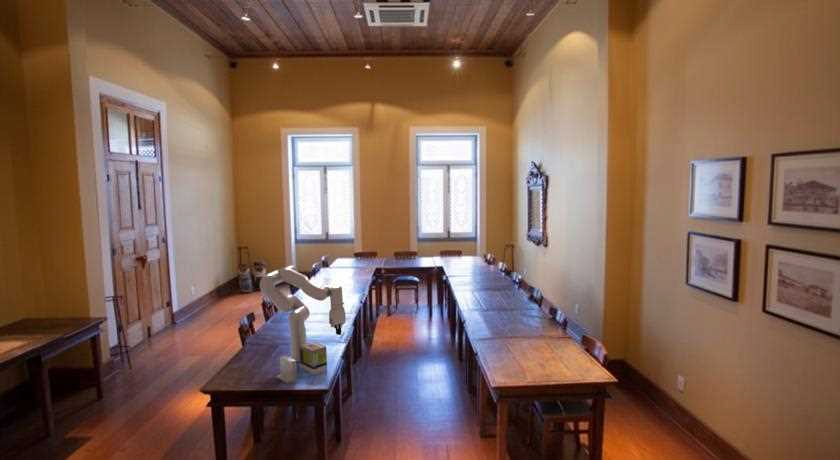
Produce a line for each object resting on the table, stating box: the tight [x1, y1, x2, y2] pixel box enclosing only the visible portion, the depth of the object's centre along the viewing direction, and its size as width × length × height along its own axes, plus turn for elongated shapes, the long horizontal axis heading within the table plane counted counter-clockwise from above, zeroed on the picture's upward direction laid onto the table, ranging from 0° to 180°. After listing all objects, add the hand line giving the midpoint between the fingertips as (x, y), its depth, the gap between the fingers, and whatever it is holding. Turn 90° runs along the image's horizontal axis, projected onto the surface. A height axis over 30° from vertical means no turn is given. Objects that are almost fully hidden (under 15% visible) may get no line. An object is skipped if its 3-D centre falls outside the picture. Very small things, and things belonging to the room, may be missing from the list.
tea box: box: [299, 340, 328, 375], centre depth 275 cm, size 15×10×15 cm, turn 44°
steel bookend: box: [275, 354, 298, 385], centre depth 261 cm, size 12×6×12 cm, turn 48°
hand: (338, 334), depth 288 cm, fingers closed
